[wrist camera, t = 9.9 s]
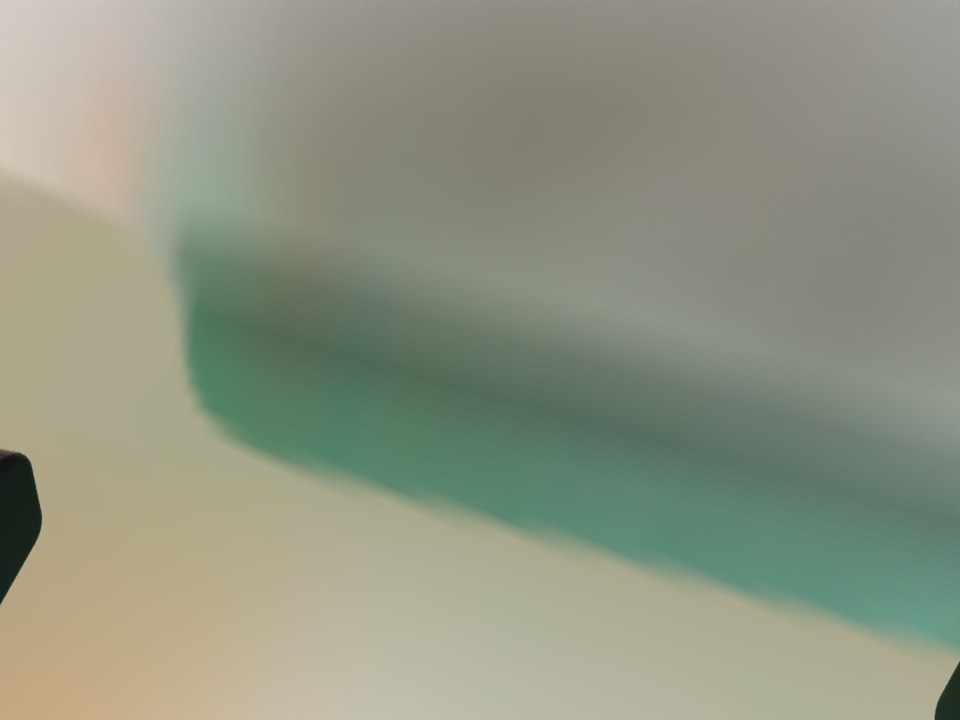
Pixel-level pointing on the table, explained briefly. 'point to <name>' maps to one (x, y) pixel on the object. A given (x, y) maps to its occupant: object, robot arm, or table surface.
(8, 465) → the robot arm
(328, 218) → the table surface
